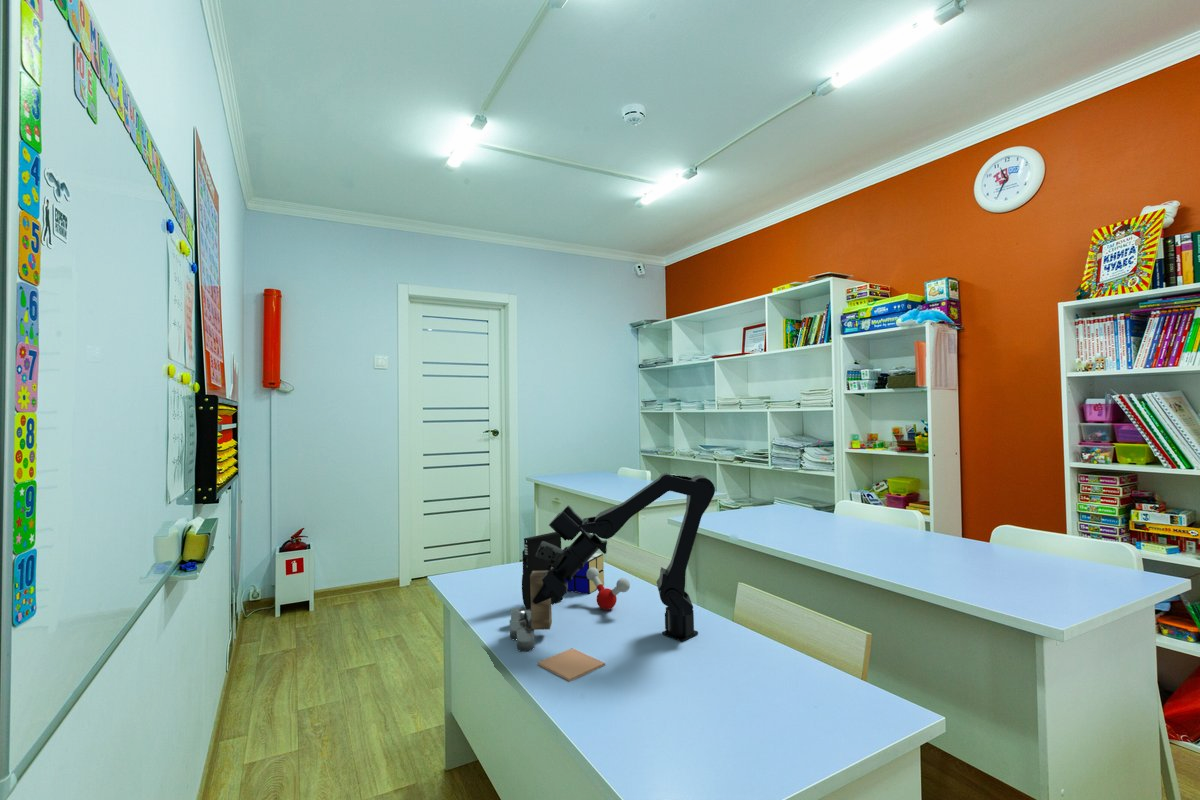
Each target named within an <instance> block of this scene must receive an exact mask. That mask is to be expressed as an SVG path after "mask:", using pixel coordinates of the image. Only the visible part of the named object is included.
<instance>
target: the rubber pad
mask: <svg viewBox="0 0 1200 800" xmlns="http://www.w3.org/2000/svg"><path fill="white" fill-rule="evenodd" d="M536 663H537V666H539V665H540V667H541V668H544V669H545V670H546V671H548V672H550V673H553V674H555V675H557V676H558V677H561V678H562V679H564V680H566V681H568V682H572V681H574V680H577V679H578V678H580V677H582V676H584V675H587V674H589V673H591V672H594V671H596V670H597V669H600V668H601V667H604V666H606V663H605V662H604V661H602V660H600V659H597V658H595V657H593V656H590V655H588V654H586V653H584V652H582V651H580V650H577V649H575V648H573V647H572V648H569V649H567V650H564V651H562V652H559V653H556V654H555V655H552V656H550V657H547V658H545V659H541V660H540V661H538V662H536Z"/></svg>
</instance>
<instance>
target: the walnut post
mask: <svg viewBox="0 0 1200 800" xmlns="http://www.w3.org/2000/svg"><path fill="white" fill-rule="evenodd" d="M548 571H549V570H548ZM548 571H532V573H531V575H530V594H531V624H532V629H534V631H536V630H541V631H542V630H544V631H545V630H546V631H547V630H551V626H552V623H553V619H552V613H553V612H552V605H551V598H550V599H547V600H545V601H542V602H540V603H538V604H535V603H534V602H533V599H534V598H535V596H536V595H537V593H538V592H539V590H540V589H541V587H542V586H543V581H542V578H543V576H544V574H546V573H547V572H548Z"/></svg>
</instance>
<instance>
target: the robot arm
mask: <svg viewBox="0 0 1200 800" xmlns="http://www.w3.org/2000/svg"><path fill="white" fill-rule="evenodd" d="M668 492H673V493H678V494H680V495H681V494H682V495H685V496H686V499H685V500H686V503H685V504H686V505H685V512H684V515H683V519H682V523H681V525H680V529H679V533H678V535H677V538H676V539H677V540H676V542H675V546H674V549H673V552H672V556H671V560H670V562H669V564H668V565H667V567H666V568H664V567H660V572H659V577H658V579H657V581H656V586H657V590H658V594H659V598H660V601H661V603H662V604H663V605H664V606H666V607H665V612H664V625H665V626H664V629H665V630H663V631H661V632H662V633H661V634H662V635H663V636H666V637H669V638H672V639H674V640H677V641H680V642H685V641H686V640H689V639H691V638H693V637H694V636H697V635H698V634H699V631H698V630H695V619H694V618H695V617H694V616H695V615H694V605H693V602H692V600H691V597H690V595H689V593H687V592H686V591H685V589H686V575H687V567H688V565H689V561H690V557H691V554H692V550H693V547H694V543H695V540H696V537H697V533H698V531H699V526H700V523H701V520H702V517H703V515H704V513H705V512H706V511H707V509H708V508H709V506H710V503H711V502H712V500H713V497H714V496H715V492H716V487H715V485H714V483H713V482H712V481H711V480H710V479H709V478H708V477H707V476H705V475H702V474H697V475H694V476H693V477H692V476H687V475H686V476H685V475H678V474H671V473H670V472H669V473H668V472H664V473H661V474H660V475H659V476H658V477H657V478H656V479H655V480H653V481H652V482H650V483H649V484H647V485H646V486H644V487H643V488H642V489H640V490H639V491H637V492H635V494H633V495H632V496H631V497H629V498H627V499H626V500H625V501H623V502H622V503H618V504H617V505H614V506H612V507H609V508H606V509H605V510H602V511H600V512H599V513H598V514H596V515H595V516H590V517H585V518H582V517H581V516H579V515H578V514H577V513H576V512H575V510H574V509H573V508H572V507H571V506H570V505H567V506H566V507H564V509H563V510H561V511H560V512H558V514H556V516H554V518H553V519H552V521H550V522H549V524H548V526H549V527H550V528H551V529H552V530H553V532H556V533H557V534H559V535H560V536H561V539H562V540H564V541H573V542H572V543H571V544H570V545H569V546H566V545H565V547H564V548H561V549H560V548H558V547H557V546H554V545H552V544H550V543H548V542H545V541H542V542H541V544H540V546H539V548H538V551H537V553H536V557H537V558H539V559H544V560H546V561H548V562H550V563H551V564H552V563H553V564H552V565H551V566H550V565H548V567H547V571H548V570H549V571H548V572H547V573H546V574H544V576H543V578H542V581H543V586H542V587H541V589H540V590H539V592H538V593H537V595H536V596H535V598H534V599H533V602H534V603H535V604H538V603H540V602H542V601H545V600H547V599H550V598H552V597H555V596H558V597H559V598H562V597H563V598H564V597H565V595H566V594H567V592H568V591H567V589H568V582H570V581H571V580H572V578H573V576H574V575H575V574H576V573H577V572H578V571H579V570H581V569H582V568H583V567H584V564H585V563H586V562H587V561H588V560H589V559H590V558H591V557H592V556H593V555H594V554H595V553H597V552H598V551H600V552H601V553H602V554H603V555H605V554H607V553H608V552H607V550H608V549H607V546H608V541H607V540H608V539H611V538H613V537H614V536H615V535H616V534H617V533H618V532H619V531H620V530H621V529H622V528H623V526H624V525H625V524H626V523H627V522H628V520H629V519H631V518H632V517H633V516H635V515H636V514H638V513H639V512H640V511H642V510H644V509H645V508H646V507H648V506H649V505H650V504H652V503H653V502H655V501H656V500H658V499H659V498H661V497H662V496H664V495H665V494H666V493H668ZM580 532H581V533H580ZM578 534H579V535H578ZM600 538H601V539H600ZM573 539H575V540H573ZM602 539H604V540H602ZM565 579H566V580H567V581H568V582H567V581H565Z"/></svg>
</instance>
